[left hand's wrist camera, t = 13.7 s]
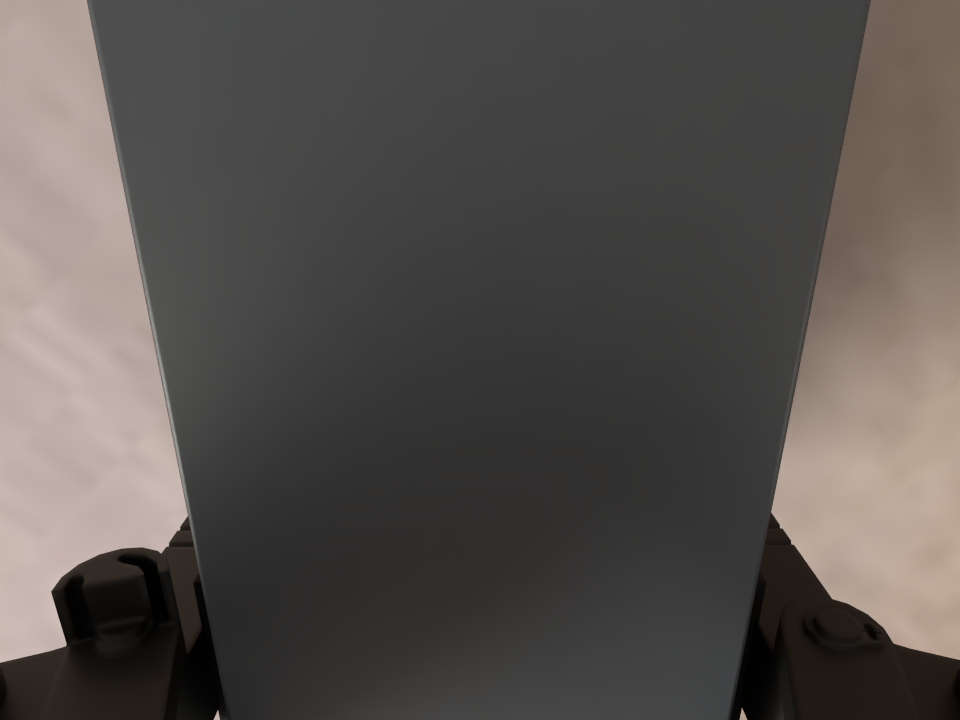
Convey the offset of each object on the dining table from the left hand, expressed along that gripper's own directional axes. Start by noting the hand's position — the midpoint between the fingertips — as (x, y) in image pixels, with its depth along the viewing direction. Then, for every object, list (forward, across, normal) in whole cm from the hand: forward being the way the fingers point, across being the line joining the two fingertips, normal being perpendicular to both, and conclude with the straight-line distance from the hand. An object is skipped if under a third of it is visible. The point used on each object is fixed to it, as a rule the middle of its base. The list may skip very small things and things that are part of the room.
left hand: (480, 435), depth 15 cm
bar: (+1, 0, -11) cm, 11 cm away
